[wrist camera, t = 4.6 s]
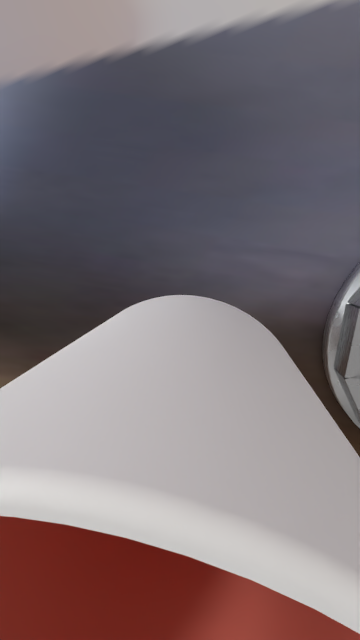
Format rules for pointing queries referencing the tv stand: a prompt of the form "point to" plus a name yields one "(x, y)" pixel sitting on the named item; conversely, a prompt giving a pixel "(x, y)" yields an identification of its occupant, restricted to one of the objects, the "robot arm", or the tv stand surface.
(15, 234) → the tv stand surface
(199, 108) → the tv stand surface
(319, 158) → the tv stand surface
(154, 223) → the tv stand surface
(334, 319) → the faceted steel dish
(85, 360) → the cup
